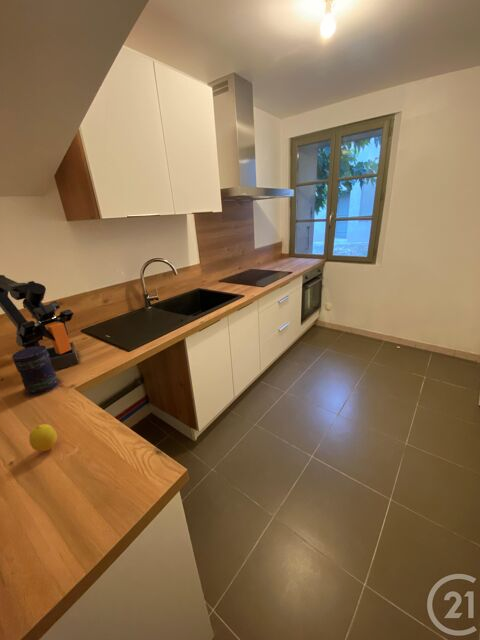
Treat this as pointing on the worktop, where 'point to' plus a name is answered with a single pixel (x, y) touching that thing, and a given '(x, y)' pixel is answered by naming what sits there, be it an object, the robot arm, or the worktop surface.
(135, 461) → the worktop surface
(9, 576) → the worktop surface
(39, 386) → the storage jar
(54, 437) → the lemon
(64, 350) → the block
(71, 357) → the dark grey open box
